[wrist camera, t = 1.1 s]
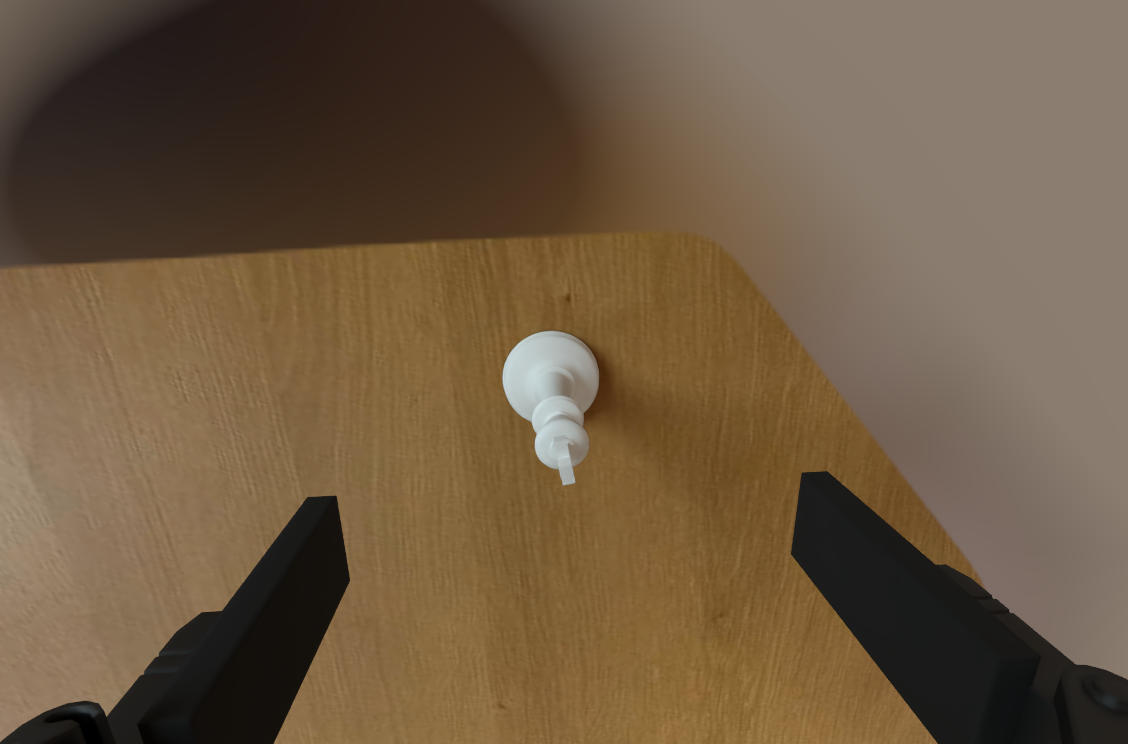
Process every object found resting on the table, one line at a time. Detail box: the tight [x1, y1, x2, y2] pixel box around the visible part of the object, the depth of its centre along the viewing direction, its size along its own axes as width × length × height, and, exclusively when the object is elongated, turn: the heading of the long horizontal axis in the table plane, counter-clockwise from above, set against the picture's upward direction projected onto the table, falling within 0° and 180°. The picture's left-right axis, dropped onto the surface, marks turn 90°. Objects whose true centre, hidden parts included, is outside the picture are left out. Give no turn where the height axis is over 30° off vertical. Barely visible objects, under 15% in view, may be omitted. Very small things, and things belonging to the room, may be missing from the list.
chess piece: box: [503, 331, 599, 485], centre depth 22 cm, size 5×5×10 cm
